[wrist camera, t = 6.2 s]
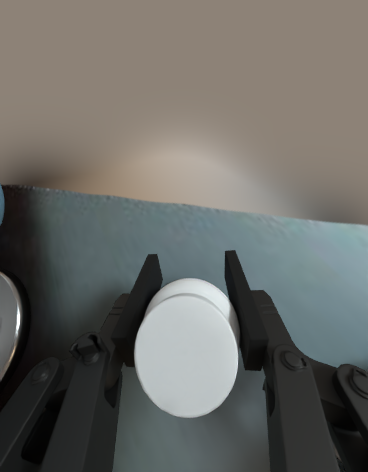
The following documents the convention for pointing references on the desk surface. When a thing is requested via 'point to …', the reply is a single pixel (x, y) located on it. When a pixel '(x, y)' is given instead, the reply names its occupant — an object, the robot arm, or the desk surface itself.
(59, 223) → the desk surface
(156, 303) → the pill bottle
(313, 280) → the desk surface
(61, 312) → the desk surface
